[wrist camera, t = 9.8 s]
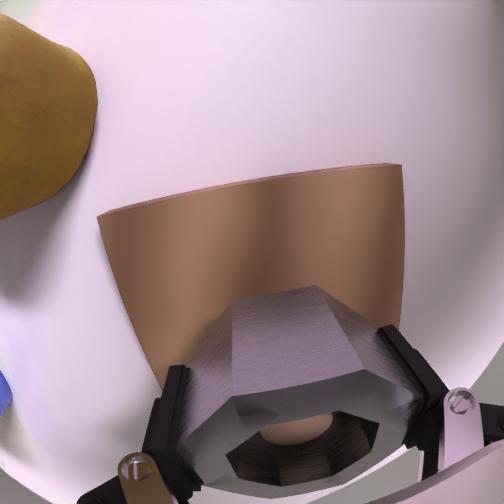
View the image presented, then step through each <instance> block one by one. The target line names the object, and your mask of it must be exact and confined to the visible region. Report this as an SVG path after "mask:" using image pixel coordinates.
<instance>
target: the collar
mask: <svg viewBox="0 0 504 504" xmlns="http://www.w3.org/2000/svg"><path fill="white" fill-rule="evenodd" d="M188 368H189V369H188V374H187V380H186V385H185V391H184V396H183V402H182V408H181V414H180V420H179V426H178V432H177V439H176V444H175V446H174V448H177V450H178V451H179V452H180V454H181V455H182V457H183V458H184V459H185V461H186V462H187V463H188V464H189V466H190V467H191V468H192V470H193V471H194V472H195V473H196V475H197V476H198V477H199V478H200V480H201V481H202V482H203V483H204V484H205V485H204V486H207V487H211V488H215V489H219V490H224V491H228V492H233V493H238V494H243V495H249V496H255V497H261V498H269V499H273V498H280V497H287V496H293V495H299V494H304V493H309V492H314V491H318V490H323V489H327V488H331V487H335V486H339V485H342V484H345V483H347V482H348V481H350V480H352V479H354V478H355V477H357V476H359V475H360V474H362V473H363V472H365V471H367V470H368V469H370V468H371V467H373V466H374V465H376V464H377V463H379V462H380V461H382V460H383V459H385V458H386V457H388V456H389V455H390V454H392V453H393V452H395V451H396V450H397V449H399V448H400V447H401V446H402V444H403V441H404V439H405V437H406V435H407V432H408V430H409V427H410V425H411V423H412V420H413V418H414V415H415V412H416V410H417V407H418V404H419V402H420V399H421V398H422V396H421V395H420V394H419V392H418V391H417V390H416V388H415V387H414V385H413V384H412V382H411V381H410V379H409V378H408V376H407V375H406V373H405V372H404V370H403V369H402V368H401V366H400V365H399V363H398V362H397V360H396V359H395V358H394V356H393V355H392V353H391V352H390V350H389V349H388V348H387V346H386V345H385V343H384V342H383V341H382V339H381V338H380V337H379V335H378V334H377V332H376V330H375V329H374V328H373V326H372V325H371V324H370V322H369V321H368V320H367V319H365V318H364V317H362V316H361V315H359V314H358V313H357V312H355V311H354V310H352V309H351V308H349V307H348V306H346V305H345V304H343V303H342V302H340V301H339V300H338V299H336V298H335V297H333V296H332V295H330V294H329V293H327V292H326V291H324V290H323V289H321V288H320V287H318V286H317V285H312V286H307V287H302V288H297V289H292V290H286V291H281V292H276V293H270V294H264V295H259V296H253V297H247V298H241V299H235V300H232V301H231V303H230V304H229V305H228V306H227V308H226V309H225V310H224V312H223V313H222V314H221V315H220V317H219V318H218V319H217V321H216V322H215V323H214V324H213V326H212V327H211V328H210V330H209V331H208V332H207V334H206V335H205V336H204V337H203V339H202V340H201V341H200V342H199V344H198V345H197V346H196V348H195V349H194V350H193V351H192V353H191V355H190V360H189V366H188ZM327 413H332V417H333V419H332V423H331V425H330V426H329V428H328V429H327V430H326V431H325V432H324V433H322V434H321V435H319V436H318V437H316V438H314V439H312V440H309V441H307V442H303V443H299V444H292V445H281V444H275V443H272V442H269V441H267V440H266V439H264V438H263V437H262V435H261V433H260V430H261V429H262V428H263V427H265V426H267V425H273V424H279V423H285V422H291V421H296V420H301V419H306V418H310V417H315V416H319V415H323V414H327Z"/></svg>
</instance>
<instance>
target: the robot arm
mask: <svg viewBox="0 0 504 504" xmlns="http://www.w3.org/2000/svg"><path fill="white" fill-rule="evenodd" d="M377 334H378V335H379V337H380V338H381V339H382V341H383V342H384V343H385V345H386V346H387V348H388V349H389V350H390V352H391V353H392V355H393V356H394V358H395V359H396V360H397V362H398V363H399V365H400V366H401V368H402V369H403V370H404V372H405V373H406V375H407V376H408V378H409V379H410V381H411V382H412V384H413V385H414V387H415V388H416V390H417V391H418V392H419V394H420V395H421V396H422V398H421V399H420V402H419V404H418V407H417V410H416V412H415V415H414V418H413V420H412V423H411V425H410V427H409V430H408V432H407V435H406V437H405V439H404V441H403V444H405V446H406V448H407V449H410V448H412V447H414V446H417V448H418V450H421V455H420V465H419V473H418V481H417V483H416V484H414V485H412V486H409V487H407V488H405V489H403V490H400V491H398V492H395V493H393V494H390V495H388V496H385V497H382V498H380V499H377V500H374V501H371V502H368V503H365V504H504V406H498V405H491V404H484V403H479V400H478V397H477V395H476V394H475V393H474V392H473V391H472V390H470V389H467V388H461V387H459V388H455V389H453V390H451V391H449V389H448V388H447V387H446V386H445V384H444V383H443V382H442V380H441V379H440V378H439V376H438V375H437V374H436V373H435V371H434V370H433V369H432V368H431V366H430V365H429V364H428V363H427V361H426V360H425V359H424V358H423V356H422V355H421V354H420V353H419V352H418V351H417V350H416V349H413V348H412V347H411V345H410V344H409V343H408V342H407V341H406V339H405V338H404V337H403V336H402V335H401V333H400V332H399V331H398V330H397V328H396V327H395V326H394V325H393V324H390V325H386V326H383V327H380V328H379V329H378V332H377ZM188 369H189V368H186V366H185V365H184V364H182V365H171V366H170V367H169V369H168V373H167V377H166V381H165V385H164V388H163V392H162V396H161V398H156V399H155V401H154V404H153V408H152V411H151V415H150V419H149V423H148V427H147V431H146V435H145V439H144V443H143V447H142V451H141V453H138V452H137V453H131V454H129V455H127V456H125V457H124V458H123V459H122V460H121V462H120V463H119V465H118V475H117V476H116V477H114V478H112V479H110V480H109V481H107V482H105V483H104V484H102V485H100V486H98V487H96V488H95V489H93V490H91V491H89V492H87V493H85V494H84V495H82V496H81V497H80V498H79V500H78V501H77V504H192V503H191V501H190V498H191V497H192V496H193V491H201V485H205V484H204V483H203V482H202V481H201V480H200V478H199V477H198V476H197V475H196V473H195V472H194V471H193V470H192V468H191V467H190V466H189V464H188V463H187V462H186V461H185V459H184V458H183V457H182V455H181V454H180V452H179V451H178V450H177V448H174V446H175V444H176V439H177V432H178V426H179V420H180V414H181V408H182V402H183V396H184V391H185V385H186V380H187V374H188ZM403 444H402V445H403Z"/></svg>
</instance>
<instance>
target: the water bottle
mask: <svg viewBox="0 0 504 504" xmlns="http://www.w3.org/2000/svg"><path fill="white" fill-rule="evenodd" d="M11 400H12V393H11V389H10V387H9V385H8V383H7V381H6V379H5V377H4V376H3V374H2V373H1V371H0V418H1V416H2V414H3V413H4V411H5V410H6V408H7V407H8V405H9V404H10V402H11Z"/></svg>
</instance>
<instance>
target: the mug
mask: <svg viewBox="0 0 504 504" xmlns="http://www.w3.org/2000/svg"><path fill="white" fill-rule="evenodd" d="M97 105H98V98H97V89H96V82H95V78H94V75H93V73H92V71H91V69H90V67H89V66H88V64H87V63H86V62H85V60H84V59H83V58H82V57H81V56H80V55H79V54H77V53H76V52H75V51H73V50H72V49H70V48H68V47H65V46H62V45H59V44H57V43H54V42H52V41H50V40H48V39H47V38H45V37H43V36H41V35H39V34H38V33H36V32H34V31H33V30H31V29H29V28H27V27H26V26H24V25H22V24H20V23H19V22H17V21H15V20H14V19H12V18H10V17H8V16H6V15H4V14H1V13H0V220H2V219H4V218H6V217H8V216H10V215H13V214H15V213H17V212H19V211H22V210H24V209H26V208H29V207H32V206H35V205H37V204H40V203H42V202H43V201H45V200H47V199H48V198H50V197H51V196H53V195H54V194H56V193H57V192H58V191H59V190H60V189H62V188H63V187H64V186H65V185H66V183H67V182H68V181H69V180H70V179H71V178H72V177H73V176H74V174H75V173H76V171H77V170H78V168H79V166H80V165H81V163H82V161H83V158H84V155H85V153H86V151H87V149H88V148H89V145H90V142H91V139H92V136H93V127H94V120H95V116H96V111H97Z"/></svg>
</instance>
